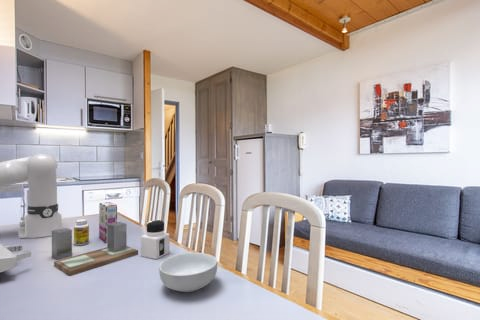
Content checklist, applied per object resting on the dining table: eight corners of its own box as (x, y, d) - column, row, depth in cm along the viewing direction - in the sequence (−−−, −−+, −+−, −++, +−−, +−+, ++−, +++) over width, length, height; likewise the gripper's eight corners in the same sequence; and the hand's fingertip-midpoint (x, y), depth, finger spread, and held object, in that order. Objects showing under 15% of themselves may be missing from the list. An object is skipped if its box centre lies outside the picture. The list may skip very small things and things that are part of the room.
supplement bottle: (74, 246, 113) (74, 222, 112) (73, 243, 117) (73, 219, 117) (89, 244, 116) (89, 220, 116) (88, 240, 120) (88, 218, 120)
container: (169, 252, 106) (170, 220, 106) (156, 259, 99) (156, 224, 99) (154, 249, 109) (154, 218, 109) (140, 256, 102) (140, 222, 102)
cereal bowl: (186, 269, 91) (186, 248, 91) (227, 281, 83) (228, 258, 83) (146, 290, 76) (146, 266, 76) (191, 307, 68) (191, 280, 68)
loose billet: (51, 257, 101) (51, 230, 101) (66, 253, 105) (66, 227, 105) (56, 260, 98) (56, 232, 98) (71, 256, 102) (71, 230, 102)
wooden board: (54, 265, 93) (54, 260, 93) (120, 247, 112) (120, 242, 112) (69, 276, 85) (69, 270, 85) (138, 254, 104) (138, 249, 104)
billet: (107, 249, 104) (107, 224, 104) (119, 246, 108) (119, 221, 108) (113, 252, 101) (113, 226, 101) (126, 249, 105) (126, 223, 105)
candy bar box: (117, 241, 120) (117, 204, 120) (105, 243, 117) (105, 206, 117) (110, 235, 128) (110, 201, 128) (98, 237, 125) (98, 202, 125)
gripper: (-37, 264, 88) (17, 252, 99) (-24, 282, 76) (35, 266, 87) (-37, 245, 88) (17, 235, 99) (-24, 260, 76) (35, 247, 87)
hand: (25, 250), depth 93 cm, fingers open, 8 cm apart
